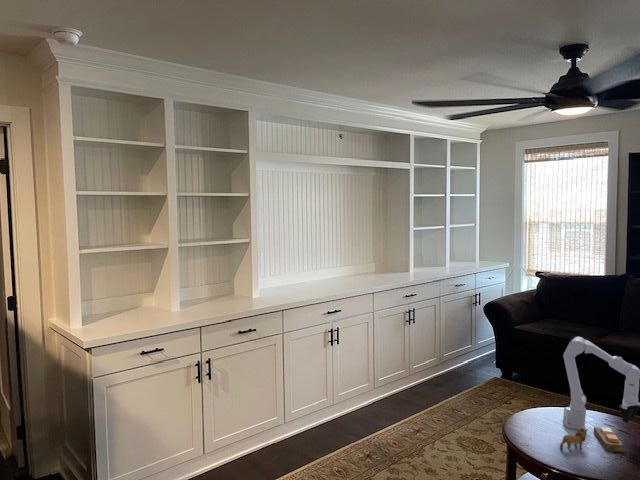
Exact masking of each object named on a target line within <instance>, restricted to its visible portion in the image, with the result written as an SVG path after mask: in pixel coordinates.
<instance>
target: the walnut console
mask: <svg viewBox="0 0 640 480" xmlns="http://www.w3.org/2000/svg"><path fill="white" fill-rule="evenodd" d="M600 428H601V427H597V426H594V427H593V434H594V436H595V437H596V439H597V440H598V441H599V443H600V444H601V446H602V447H603V449H604V451H614V452H621V453H623V452H624V448H625V445H624V444H623V442H622V441H621V440H620V439H619V437H618V436H617V435H616V433H615V432H614V431H613V429H612V428H610V429H611V430H612V431H613V435H616V437H617V438H618V443H616V442H608V441H607V440H606V438H605V437H606V435H605V434H602V433H601V431H600Z"/></svg>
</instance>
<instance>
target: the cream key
mask: <svg viewBox="0 0 640 480" xmlns="http://www.w3.org/2000/svg"><path fill="white" fill-rule="evenodd" d="M599 428H600V431H601V433H602V434H605V435H606V434H611V435H613V432H614V431H613V429H612V428H611V427H603V426H600V427H599ZM611 429H612V430H611Z"/></svg>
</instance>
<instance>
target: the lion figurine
mask: <svg viewBox="0 0 640 480" xmlns="http://www.w3.org/2000/svg"><path fill="white" fill-rule="evenodd" d="M586 438H587V430H585V429H584V428H583V427H579V428H577V429H576V431H575V434H572V435H571V434H565V435H564V436H563V438H562V441H561V443H560V444H559V450H560V451H561V452H562V451H563V449H564V444H567V449H568V451H569V452H571V453H572V452H573V450H572V449H571V445H573V447H574V448H577V447H578V448H579V450H581V451H583V442H585V440H586ZM577 444H579V446H578V445H577Z"/></svg>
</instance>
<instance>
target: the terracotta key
mask: <svg viewBox="0 0 640 480" xmlns="http://www.w3.org/2000/svg"><path fill="white" fill-rule="evenodd" d="M616 436H617V435H616V434H615V435H611V434H606V437H605V438H606V440H607V441H608V442H616V443H618V438H619V437H618V436H617V437H618V438H617V437H616Z"/></svg>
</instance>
